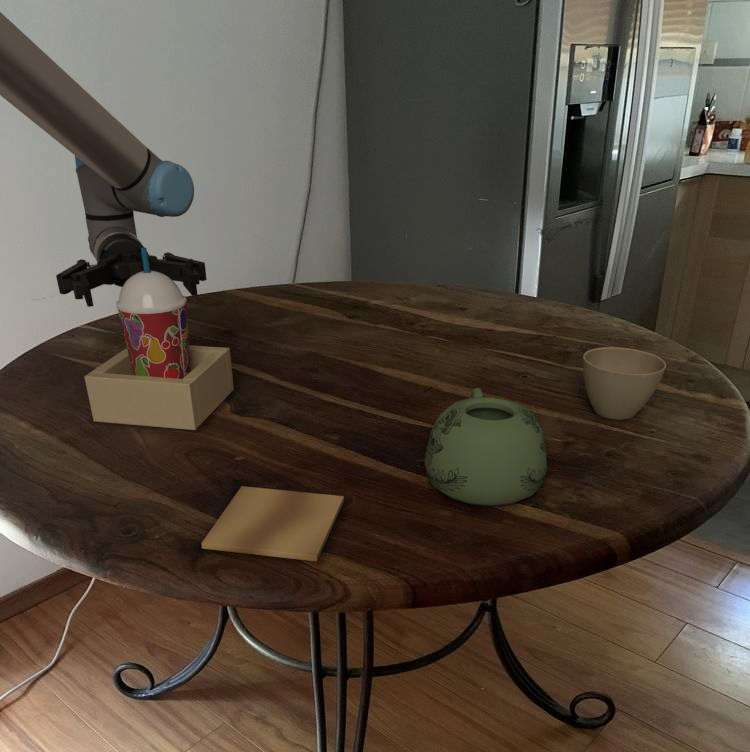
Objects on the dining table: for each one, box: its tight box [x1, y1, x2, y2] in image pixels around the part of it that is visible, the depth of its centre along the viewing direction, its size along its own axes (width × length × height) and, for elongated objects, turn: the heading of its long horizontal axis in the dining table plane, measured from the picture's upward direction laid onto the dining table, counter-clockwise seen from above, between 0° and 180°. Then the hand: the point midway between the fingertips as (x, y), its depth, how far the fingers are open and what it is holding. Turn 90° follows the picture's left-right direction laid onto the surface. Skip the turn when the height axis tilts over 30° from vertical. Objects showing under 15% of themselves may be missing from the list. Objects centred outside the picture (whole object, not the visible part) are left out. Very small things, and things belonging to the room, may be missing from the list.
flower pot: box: [582, 346, 667, 421], centre depth 94 cm, size 10×10×7 cm
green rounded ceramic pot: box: [423, 387, 548, 508], centre depth 78 cm, size 16×13×9 cm
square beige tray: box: [84, 344, 235, 431], centre depth 95 cm, size 14×14×6 cm
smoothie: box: [115, 247, 191, 379], centre depth 92 cm, size 8×8×20 cm
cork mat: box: [201, 485, 345, 562], centre depth 72 cm, size 11×11×1 cm
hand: (142, 290), depth 97 cm, fingers open, 13 cm apart
